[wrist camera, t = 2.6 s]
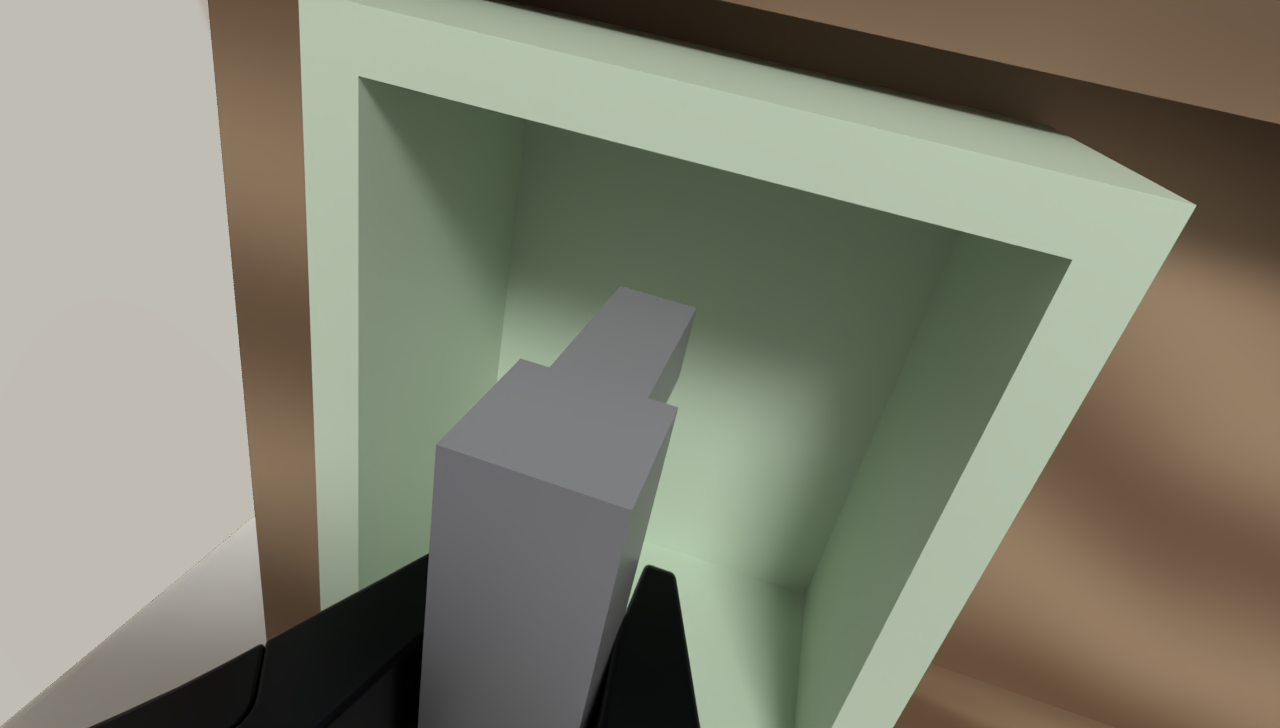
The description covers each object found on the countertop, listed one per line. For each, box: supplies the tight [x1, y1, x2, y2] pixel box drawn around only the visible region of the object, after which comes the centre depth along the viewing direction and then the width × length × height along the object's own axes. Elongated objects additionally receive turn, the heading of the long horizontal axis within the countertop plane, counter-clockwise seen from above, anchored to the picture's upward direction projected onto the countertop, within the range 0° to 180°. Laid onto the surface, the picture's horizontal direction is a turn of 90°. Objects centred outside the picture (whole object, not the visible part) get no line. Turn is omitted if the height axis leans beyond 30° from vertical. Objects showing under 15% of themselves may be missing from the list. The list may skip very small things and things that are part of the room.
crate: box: [298, 0, 1197, 728], centre depth 11 cm, size 12×10×10 cm
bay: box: [208, 0, 1280, 728], centre depth 13 cm, size 17×30×6 cm, turn 79°
